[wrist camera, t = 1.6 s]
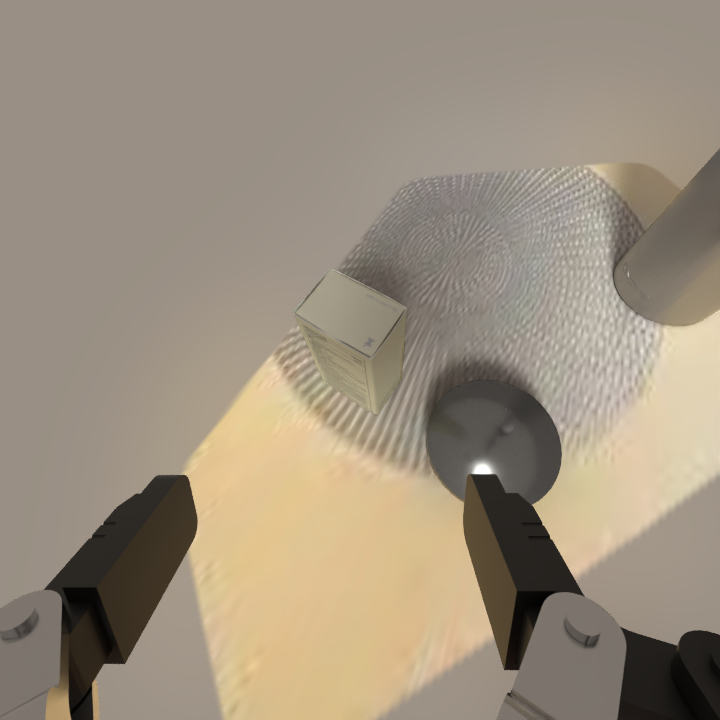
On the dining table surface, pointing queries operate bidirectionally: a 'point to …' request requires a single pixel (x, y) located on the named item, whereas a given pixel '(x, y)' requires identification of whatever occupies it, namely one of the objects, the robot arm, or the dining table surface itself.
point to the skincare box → (354, 338)
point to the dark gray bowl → (493, 439)
